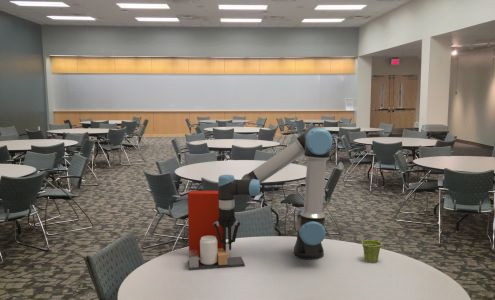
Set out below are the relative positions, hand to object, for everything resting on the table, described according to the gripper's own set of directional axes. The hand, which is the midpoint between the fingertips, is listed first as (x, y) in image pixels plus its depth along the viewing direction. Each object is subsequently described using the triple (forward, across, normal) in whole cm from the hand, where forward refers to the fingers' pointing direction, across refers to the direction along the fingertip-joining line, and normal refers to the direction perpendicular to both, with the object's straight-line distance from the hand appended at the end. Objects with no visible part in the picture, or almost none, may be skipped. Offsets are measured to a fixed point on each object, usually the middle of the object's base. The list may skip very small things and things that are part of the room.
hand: (227, 256), depth 221 cm
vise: (+4, +6, 0) cm, 7 cm away
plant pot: (+4, -68, +9) cm, 69 cm away
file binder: (+4, +8, -15) cm, 17 cm away
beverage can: (+3, +9, 0) cm, 9 cm away
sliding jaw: (+2, +3, 0) cm, 3 cm away
